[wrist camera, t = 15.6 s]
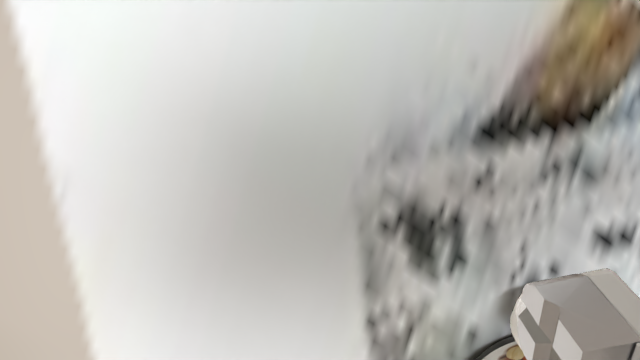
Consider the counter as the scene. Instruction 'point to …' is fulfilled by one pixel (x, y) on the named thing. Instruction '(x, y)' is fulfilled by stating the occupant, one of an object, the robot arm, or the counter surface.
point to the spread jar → (507, 340)
